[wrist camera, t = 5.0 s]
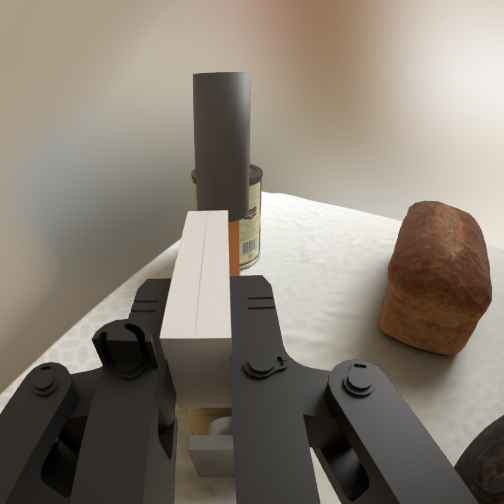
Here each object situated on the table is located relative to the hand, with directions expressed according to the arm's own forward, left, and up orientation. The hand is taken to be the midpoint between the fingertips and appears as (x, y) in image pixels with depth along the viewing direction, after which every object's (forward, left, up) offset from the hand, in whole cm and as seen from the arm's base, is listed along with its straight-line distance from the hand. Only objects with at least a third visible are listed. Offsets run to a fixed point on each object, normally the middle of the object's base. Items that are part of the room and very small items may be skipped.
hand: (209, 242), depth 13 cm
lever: (-6, -3, -10) cm, 12 cm away
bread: (-34, +12, -21) cm, 42 cm away
